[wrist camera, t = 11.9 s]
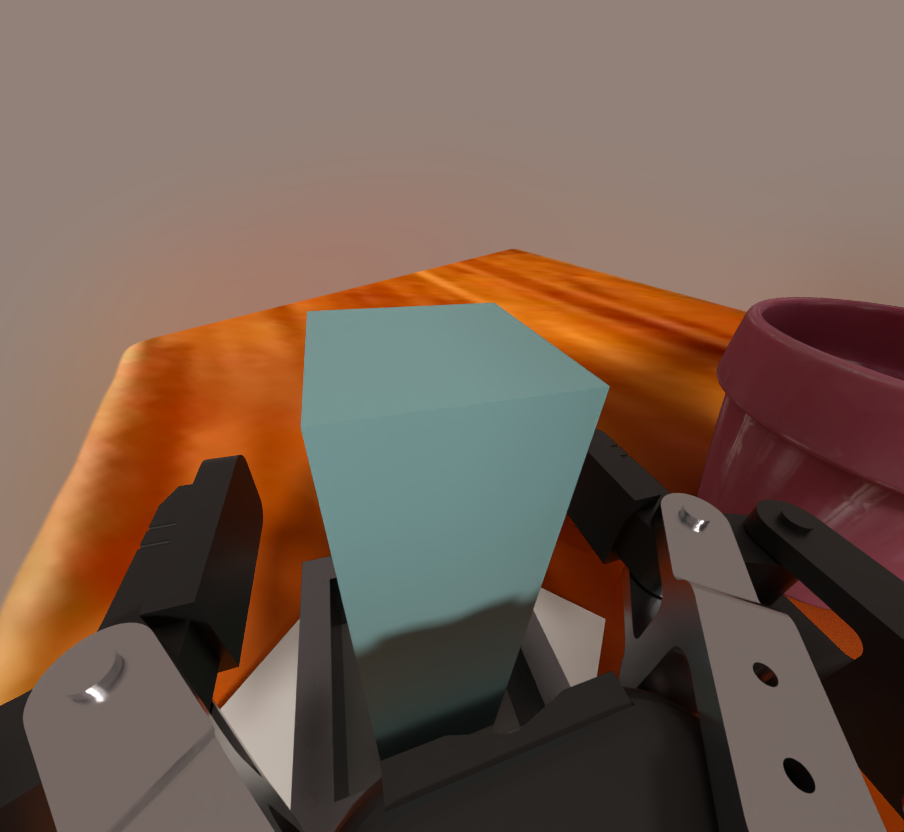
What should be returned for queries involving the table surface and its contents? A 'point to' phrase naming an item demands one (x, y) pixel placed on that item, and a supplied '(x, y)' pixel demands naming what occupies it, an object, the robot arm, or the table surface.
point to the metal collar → (323, 700)
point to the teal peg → (440, 497)
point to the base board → (274, 698)
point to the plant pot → (815, 421)
